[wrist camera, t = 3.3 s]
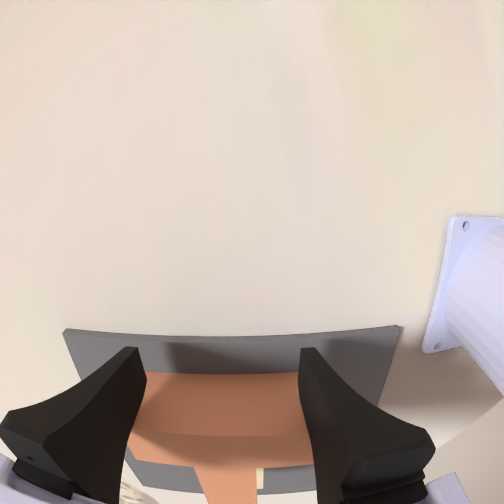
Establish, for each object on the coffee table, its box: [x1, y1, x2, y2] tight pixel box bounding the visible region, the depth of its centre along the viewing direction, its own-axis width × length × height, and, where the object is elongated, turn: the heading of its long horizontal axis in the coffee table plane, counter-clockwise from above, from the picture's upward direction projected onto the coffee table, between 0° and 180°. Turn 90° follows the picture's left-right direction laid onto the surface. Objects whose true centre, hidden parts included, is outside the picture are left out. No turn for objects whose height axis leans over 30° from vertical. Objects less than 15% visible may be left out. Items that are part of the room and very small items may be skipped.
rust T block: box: [127, 371, 314, 504], centre depth 14 cm, size 9×9×4 cm
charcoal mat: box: [62, 325, 400, 495], centre depth 17 cm, size 18×18×1 cm
